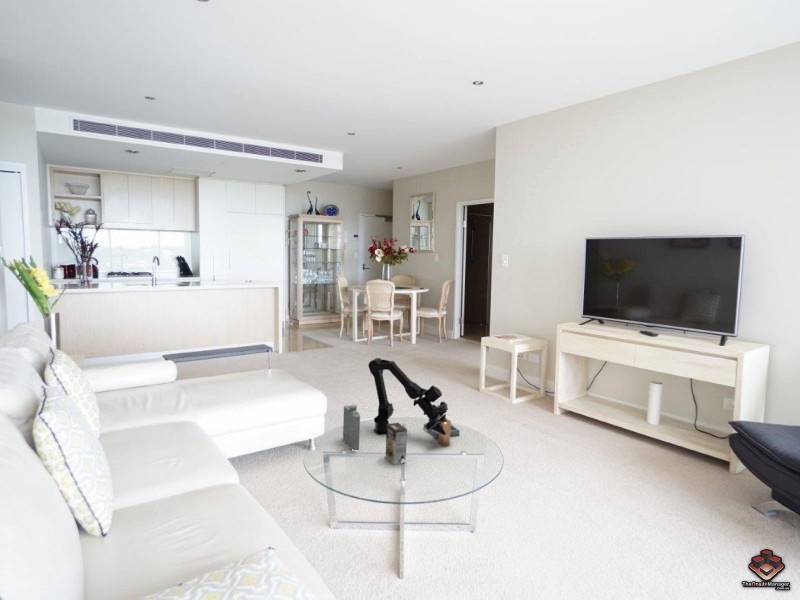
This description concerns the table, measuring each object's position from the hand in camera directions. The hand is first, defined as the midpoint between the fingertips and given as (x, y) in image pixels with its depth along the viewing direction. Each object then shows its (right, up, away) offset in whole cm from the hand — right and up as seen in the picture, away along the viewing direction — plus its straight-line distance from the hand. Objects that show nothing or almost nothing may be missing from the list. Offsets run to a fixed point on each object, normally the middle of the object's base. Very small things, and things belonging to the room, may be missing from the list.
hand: (447, 432), depth 234 cm
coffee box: (-26, -8, -18) cm, 32 cm away
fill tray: (-2, -5, +16) cm, 17 cm away
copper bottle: (-2, -6, +1) cm, 7 cm away
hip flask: (-48, -5, -4) cm, 48 cm away
